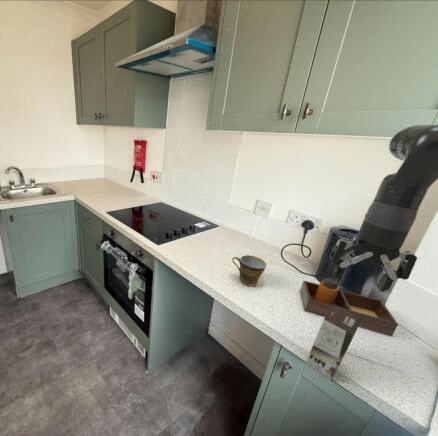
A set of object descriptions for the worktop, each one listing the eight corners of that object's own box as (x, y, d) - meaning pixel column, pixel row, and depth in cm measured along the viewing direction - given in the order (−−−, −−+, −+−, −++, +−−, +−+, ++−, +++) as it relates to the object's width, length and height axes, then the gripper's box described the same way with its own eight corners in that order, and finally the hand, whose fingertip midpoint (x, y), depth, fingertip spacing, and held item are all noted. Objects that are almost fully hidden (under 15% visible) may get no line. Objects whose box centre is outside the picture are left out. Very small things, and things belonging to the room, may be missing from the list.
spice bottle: (328, 303, 91) (338, 279, 87) (332, 313, 87) (343, 287, 82) (311, 298, 93) (320, 274, 89) (314, 308, 89) (323, 282, 84)
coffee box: (331, 381, 64) (354, 335, 58) (304, 363, 68) (322, 318, 62) (341, 362, 69) (363, 318, 63) (315, 346, 74) (333, 304, 68)
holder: (299, 292, 98) (303, 280, 96) (375, 313, 89) (381, 300, 87) (303, 312, 87) (308, 299, 85) (390, 338, 78) (398, 324, 76)
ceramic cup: (262, 280, 104) (268, 260, 100) (258, 292, 96) (263, 271, 93) (232, 269, 111) (236, 250, 107) (225, 280, 103) (229, 259, 99)
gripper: (352, 221, 52) (327, 283, 58) (441, 236, 47) (403, 303, 53) (342, 211, 59) (320, 268, 65) (420, 223, 54) (388, 284, 60)
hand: (358, 284), depth 59 cm, fingers open, 8 cm apart
